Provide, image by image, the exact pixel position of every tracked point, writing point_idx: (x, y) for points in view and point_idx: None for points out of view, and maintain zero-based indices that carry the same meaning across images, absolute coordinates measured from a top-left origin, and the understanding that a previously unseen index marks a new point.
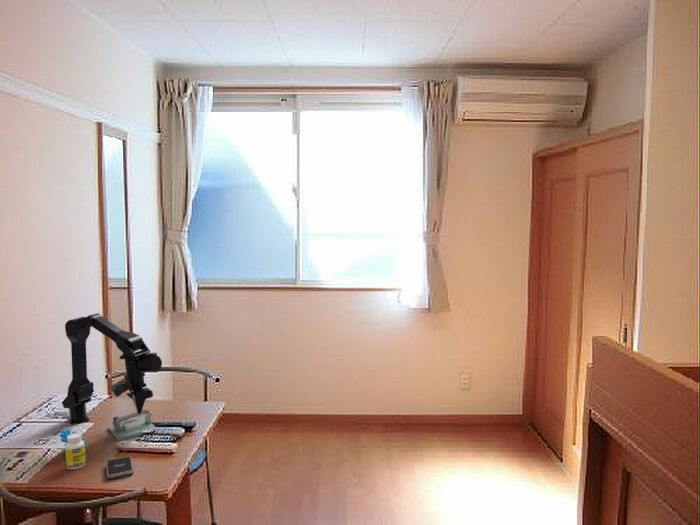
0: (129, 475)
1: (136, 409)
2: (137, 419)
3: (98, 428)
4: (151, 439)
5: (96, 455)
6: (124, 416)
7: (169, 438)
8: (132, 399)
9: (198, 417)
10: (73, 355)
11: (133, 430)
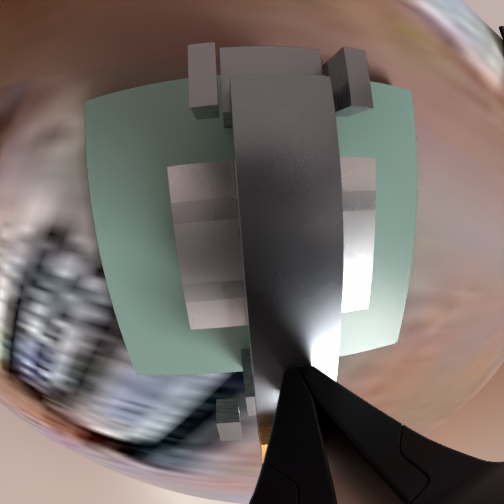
0: None
1: (329, 382)
2: (232, 316)
3: (431, 60)
4: (36, 304)
5: (15, 24)
6: (318, 190)
7: (33, 368)
8: (460, 461)
9: (227, 482)
10: None
11: (168, 233)
